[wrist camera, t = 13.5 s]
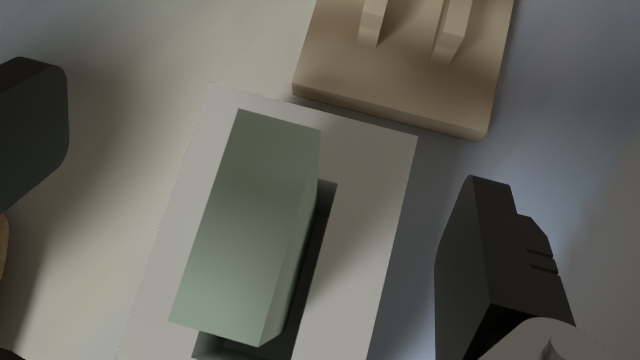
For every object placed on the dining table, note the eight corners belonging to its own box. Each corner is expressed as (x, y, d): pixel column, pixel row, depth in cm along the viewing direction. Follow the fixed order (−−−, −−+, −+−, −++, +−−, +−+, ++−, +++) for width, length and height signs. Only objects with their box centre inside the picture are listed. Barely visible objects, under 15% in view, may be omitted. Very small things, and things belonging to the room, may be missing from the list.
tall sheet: (285, 331, 25) (258, 347, 12) (243, 319, 25) (167, 321, 12) (314, 226, 26) (321, 129, 13) (274, 215, 26) (238, 108, 13)
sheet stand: (327, 434, 25) (336, 486, 17) (159, 386, 25) (95, 416, 18) (387, 186, 28) (418, 136, 20) (236, 146, 28) (209, 82, 20)
